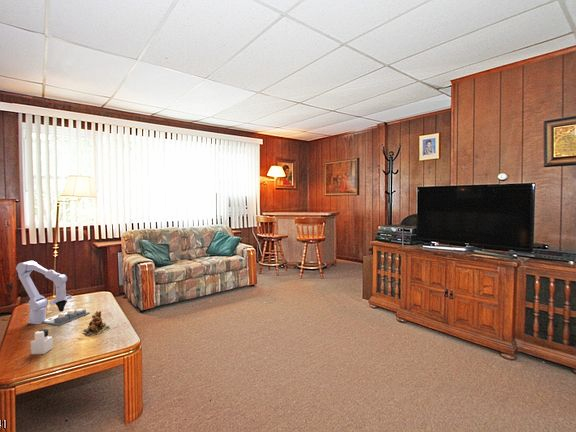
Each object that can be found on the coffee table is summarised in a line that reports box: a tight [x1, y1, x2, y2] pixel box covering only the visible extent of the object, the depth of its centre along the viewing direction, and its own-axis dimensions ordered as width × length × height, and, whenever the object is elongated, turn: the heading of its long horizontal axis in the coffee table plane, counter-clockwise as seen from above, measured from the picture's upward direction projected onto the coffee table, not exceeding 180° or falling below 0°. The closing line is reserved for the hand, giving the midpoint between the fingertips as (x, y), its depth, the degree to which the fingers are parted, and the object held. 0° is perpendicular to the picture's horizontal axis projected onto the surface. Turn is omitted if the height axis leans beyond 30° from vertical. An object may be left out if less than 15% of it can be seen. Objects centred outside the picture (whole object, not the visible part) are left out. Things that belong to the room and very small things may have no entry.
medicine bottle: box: [30, 328, 53, 355], centre depth 176 cm, size 7×7×12 cm
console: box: [41, 309, 90, 326], centre depth 227 cm, size 18×24×3 cm
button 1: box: [57, 312, 65, 319], centre depth 218 cm, size 4×4×3 cm
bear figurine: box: [82, 310, 111, 337], centre depth 204 cm, size 14×15×12 cm
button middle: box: [66, 309, 74, 315], centre depth 225 cm, size 4×4×3 cm
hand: (61, 311), depth 218 cm, fingers closed
